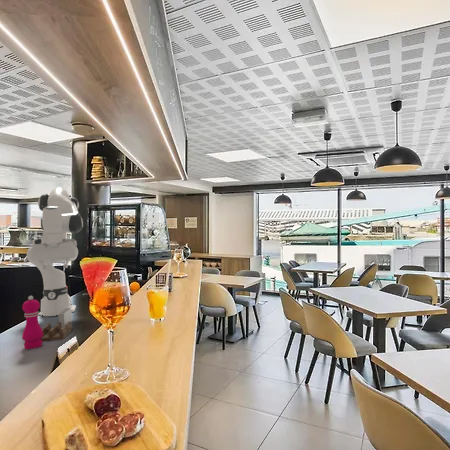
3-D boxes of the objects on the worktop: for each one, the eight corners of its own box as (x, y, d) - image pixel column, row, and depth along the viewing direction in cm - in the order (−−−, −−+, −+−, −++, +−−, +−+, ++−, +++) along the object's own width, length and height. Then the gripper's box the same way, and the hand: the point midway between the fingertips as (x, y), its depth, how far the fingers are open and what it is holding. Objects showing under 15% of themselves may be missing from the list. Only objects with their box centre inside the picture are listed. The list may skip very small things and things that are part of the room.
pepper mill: (20, 350, 130) (17, 298, 131) (25, 344, 137) (23, 295, 138) (41, 347, 132) (38, 296, 132) (45, 342, 139) (42, 293, 139)
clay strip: (66, 322, 170) (66, 308, 170) (71, 321, 170) (71, 307, 170) (59, 329, 158) (58, 314, 158) (64, 328, 158) (63, 313, 158)
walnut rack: (37, 332, 154) (37, 324, 154) (72, 329, 156) (72, 321, 156) (24, 343, 140) (24, 333, 140) (63, 338, 142) (62, 330, 142)
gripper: (78, 238, 168) (79, 266, 168) (33, 241, 165) (35, 269, 165) (74, 238, 162) (76, 267, 162) (28, 241, 159) (29, 271, 158)
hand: (55, 268), depth 163 cm, fingers open, 8 cm apart
